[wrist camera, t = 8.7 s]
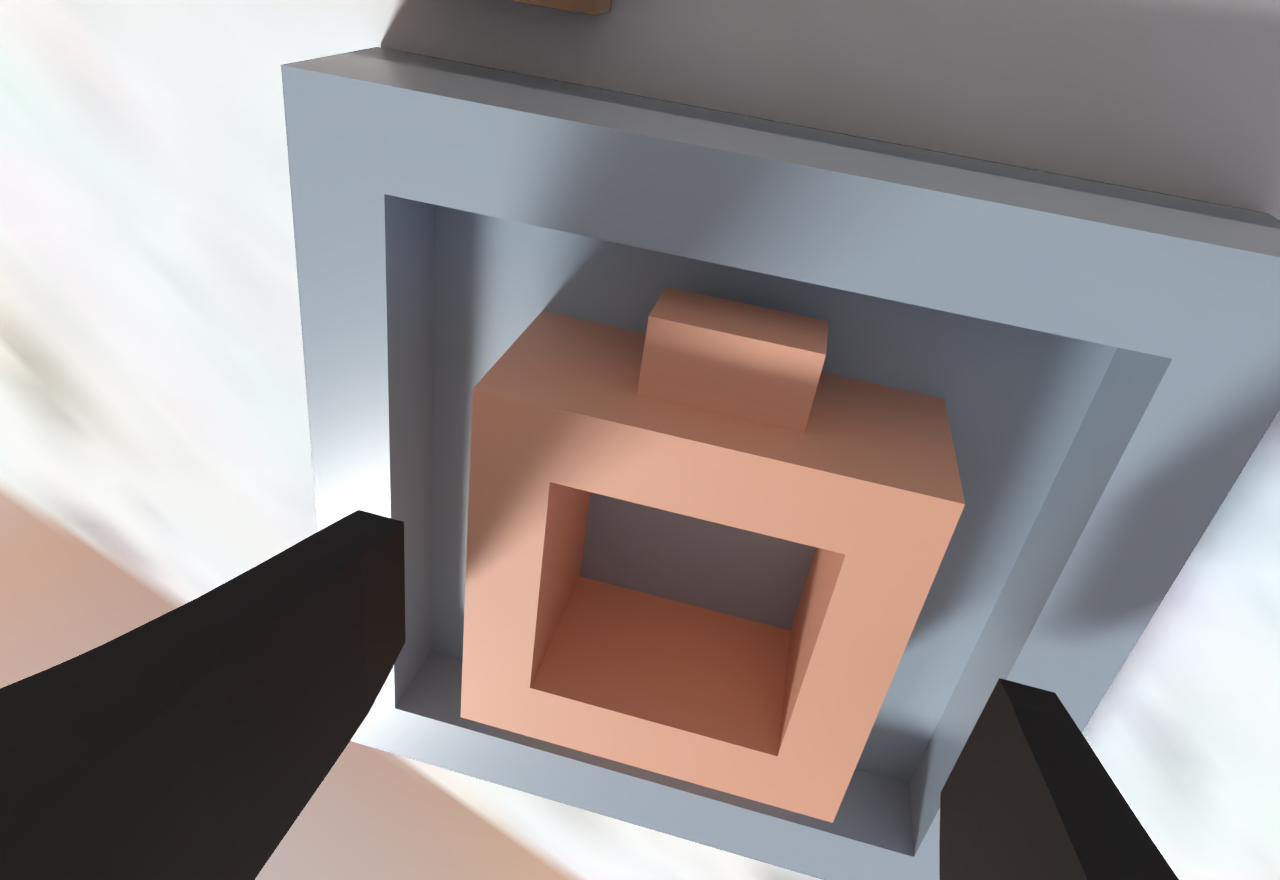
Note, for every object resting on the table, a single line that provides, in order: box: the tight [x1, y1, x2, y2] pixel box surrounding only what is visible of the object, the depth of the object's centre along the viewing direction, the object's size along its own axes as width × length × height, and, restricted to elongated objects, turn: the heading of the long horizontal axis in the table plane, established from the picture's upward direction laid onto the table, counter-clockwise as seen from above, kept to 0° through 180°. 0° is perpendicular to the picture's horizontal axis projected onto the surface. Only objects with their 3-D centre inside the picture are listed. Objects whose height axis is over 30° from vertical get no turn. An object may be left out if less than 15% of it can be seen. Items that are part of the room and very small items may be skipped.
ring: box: [460, 287, 965, 823], centre depth 11 cm, size 6×6×2 cm
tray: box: [281, 47, 1280, 880], centre depth 12 cm, size 11×11×2 cm
